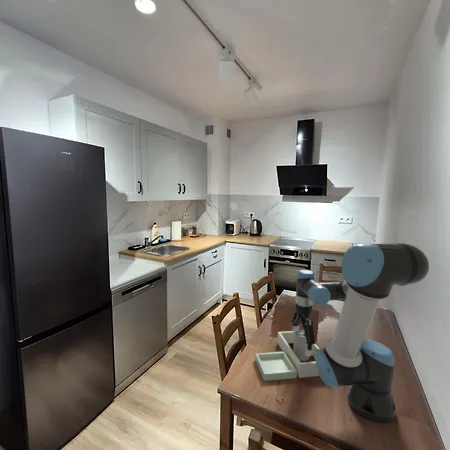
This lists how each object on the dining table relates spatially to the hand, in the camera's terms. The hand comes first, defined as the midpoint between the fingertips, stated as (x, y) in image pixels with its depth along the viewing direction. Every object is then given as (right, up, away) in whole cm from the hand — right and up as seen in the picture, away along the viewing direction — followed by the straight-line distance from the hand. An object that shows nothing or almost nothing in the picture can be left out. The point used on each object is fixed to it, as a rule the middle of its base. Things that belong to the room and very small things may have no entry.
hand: (301, 346), depth 122 cm
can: (0, -5, 0) cm, 5 cm away
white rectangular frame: (0, -5, 0) cm, 5 cm away
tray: (-14, -6, -8) cm, 17 cm away
